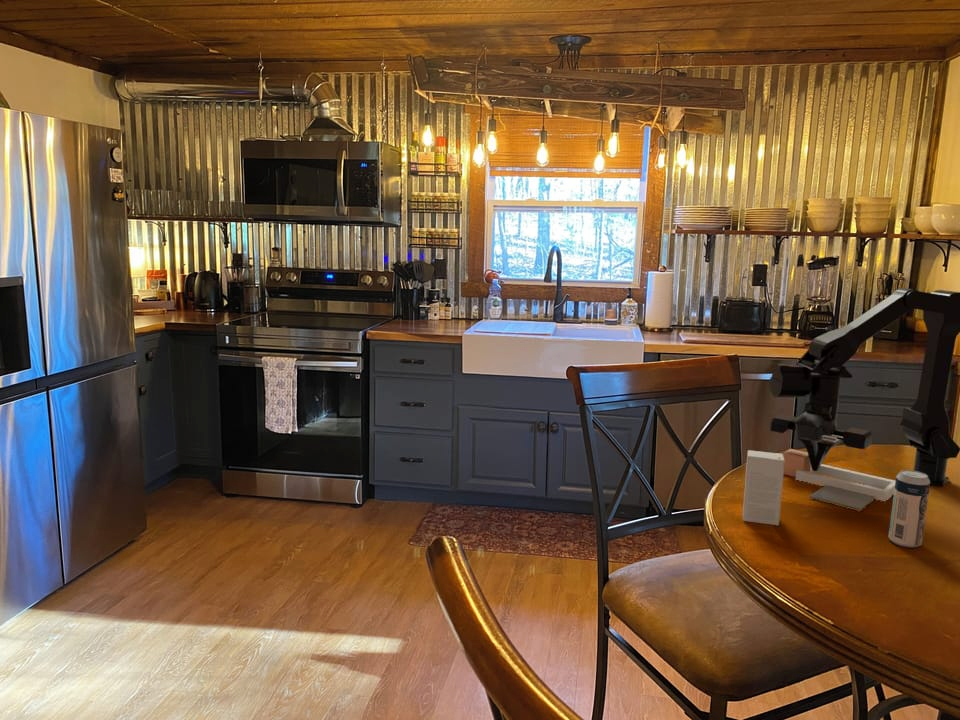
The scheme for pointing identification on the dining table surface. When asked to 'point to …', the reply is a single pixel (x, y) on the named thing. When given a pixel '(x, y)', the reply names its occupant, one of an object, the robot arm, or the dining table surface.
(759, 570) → the dining table surface
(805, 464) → the block
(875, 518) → the dining table surface
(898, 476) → the beer can
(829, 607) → the dining table surface
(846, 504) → the coaster
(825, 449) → the robot arm
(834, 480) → the channel
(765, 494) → the skincare box
